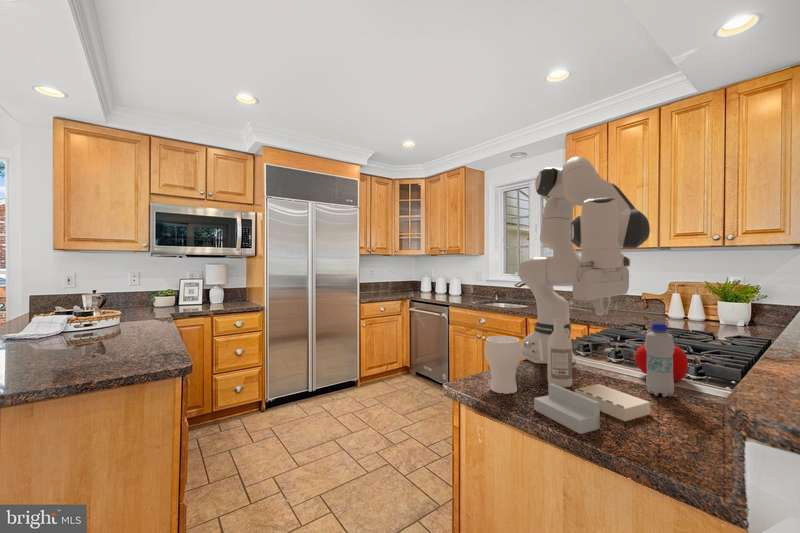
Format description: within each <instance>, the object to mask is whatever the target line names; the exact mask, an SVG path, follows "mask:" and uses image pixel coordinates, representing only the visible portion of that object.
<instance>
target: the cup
mask: <svg viewBox="0 0 800 533" xmlns="http://www.w3.org/2000/svg"><path fill="white" fill-rule="evenodd" d="M484 357H485V359H486V360H485V361H486V362H487V364H488V366H489V369H490V374H491V378H490V385H489V386H490V387H489V389H490V390H491V391H492V392H494V393H497V394H502V393H503V395H504V394H505V395H507V394H509V395H510V393H511V394H515V393H516V392H517V391H518V387H517V381H516V374H517V369H518V367H519V365H520V363H521V359H522V344H521V341H520V339H519V338H518V337H515V336H507V335H492V336H488V337H486V339H485V344H484Z"/></svg>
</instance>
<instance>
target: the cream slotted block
mask: <svg viewBox="0 0 800 533" xmlns="http://www.w3.org/2000/svg"><path fill="white" fill-rule="evenodd" d="M574 392H575V393H578V394H580V395H583V396H585V397H587V398H590V399H592V400H595V401H597V402H599V403H600V412H602V413H604V414H606V415H609V416H611V417H614V418H616V419H619V421H620V420H621V421H623V422H628V421H631V420H635V419H638V418H642V417H645V416H649V415H651V401H648V400H647V399H646V400H645V399H642V398H639V397H638V396H637V397H636V396H634V395H630V394H628V393H626V392H622V391H620V390H617V389H614V388H610V387H608V386H605V385H603V384H600V383H599V384H598V383H597V384H593V385H588V386H583V387H580V388H579V387H578V388H575V389H574Z"/></svg>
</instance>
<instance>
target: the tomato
mask: <svg viewBox="0 0 800 533" xmlns="http://www.w3.org/2000/svg"><path fill="white" fill-rule="evenodd" d="M674 347H675V348H674V353H673V380H674V382H677V381H680V380H682V379H684V377H685V376H686V374H687V372H688V365H689V364H688V362H689V361H688V358H687V355H686V354H685V352H684V351H683V349H682V348H681V347H680V346H678V345H676V344H674ZM634 362H635V364H636V366H637V367H638V368H639V370H641V372H643V373H644V374H645V375H647V352H646V350H645V343H644V344H643V345H641V346H639V347H638V348H637V350H636V351H635V353H634Z"/></svg>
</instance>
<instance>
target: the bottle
mask: <svg viewBox="0 0 800 533" xmlns="http://www.w3.org/2000/svg"><path fill="white" fill-rule="evenodd" d="M667 331H668V326H667V325H666V323H663V322H654V323H652V325H651V331H649V332H647V333H646V334H645V342H644V344H645V350H646V352H647V374H646V375H645V376H646V378H645V379H646V380H645V384H646V389H647V392H648V393H649V394H651V395H654V396H655V397H658V396H659V394H661V395H662V396H661V397H662V398H666V397H672V396H673V394H674V391H675V381H674V380H673V353H674V348H675V347H674V345H675V343H674V337H673V335H672V334H670V333H668V332H667Z"/></svg>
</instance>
